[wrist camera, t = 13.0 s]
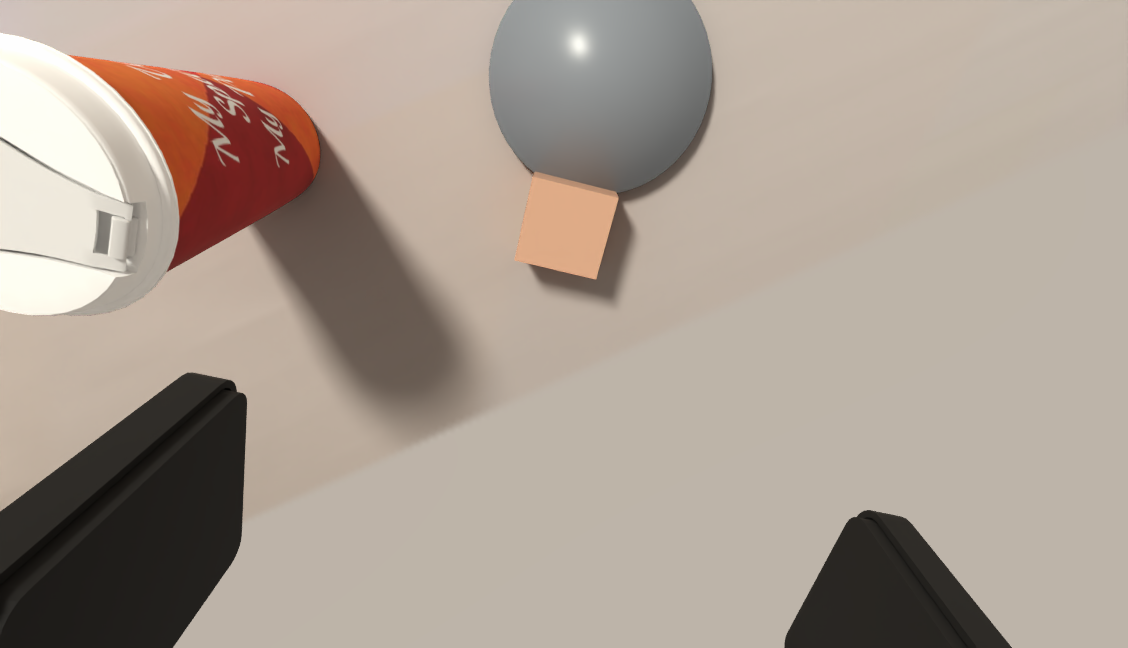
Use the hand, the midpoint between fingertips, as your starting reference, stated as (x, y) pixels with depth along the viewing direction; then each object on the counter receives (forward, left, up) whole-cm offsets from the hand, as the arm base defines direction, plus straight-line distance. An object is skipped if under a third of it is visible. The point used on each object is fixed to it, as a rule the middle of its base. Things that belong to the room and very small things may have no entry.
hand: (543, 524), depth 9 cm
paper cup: (0, +15, -22) cm, 27 cm away
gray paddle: (+5, 0, -22) cm, 22 cm away
